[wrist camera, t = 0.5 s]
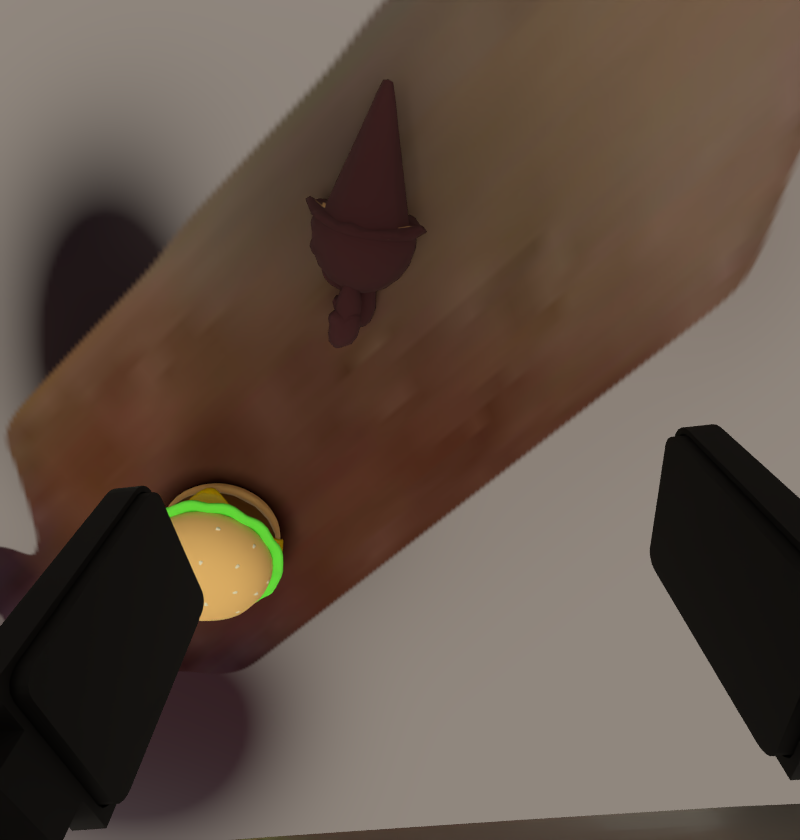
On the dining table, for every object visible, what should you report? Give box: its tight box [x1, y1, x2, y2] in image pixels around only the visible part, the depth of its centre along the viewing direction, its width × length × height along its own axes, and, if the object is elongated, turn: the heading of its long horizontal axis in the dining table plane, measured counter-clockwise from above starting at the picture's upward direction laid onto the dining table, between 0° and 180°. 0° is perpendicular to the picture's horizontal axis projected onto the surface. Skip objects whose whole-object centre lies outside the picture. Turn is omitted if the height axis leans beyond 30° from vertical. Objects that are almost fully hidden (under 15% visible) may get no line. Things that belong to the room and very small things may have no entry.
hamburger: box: [166, 483, 283, 621], centre depth 43 cm, size 12×12×9 cm
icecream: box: [306, 80, 427, 348], centre depth 31 cm, size 7×7×15 cm
